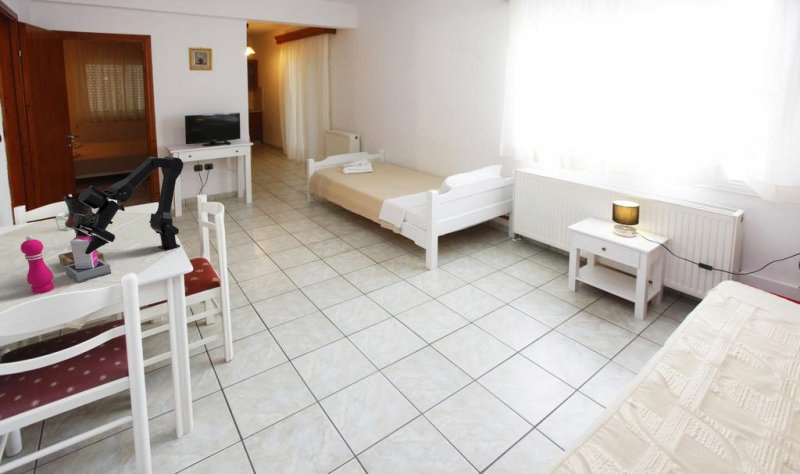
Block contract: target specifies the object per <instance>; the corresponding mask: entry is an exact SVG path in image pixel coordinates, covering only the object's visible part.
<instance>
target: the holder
mask: <svg viewBox="0 0 800 474" xmlns="http://www.w3.org/2000/svg"><path fill="white" fill-rule="evenodd" d="M96 253H97V258H98V259H100V260H102V261H104V262H105V258H104V253H103V252H101V251H99V250H98V249H96ZM57 256H58V259H59V262H60V265H61V264H62V266H63V267H64V266H68V265H71V264H75V262H74V257H73V253H72V251H69V252H65V253H64V252H63V253H61V254H58V255H57Z"/></svg>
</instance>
